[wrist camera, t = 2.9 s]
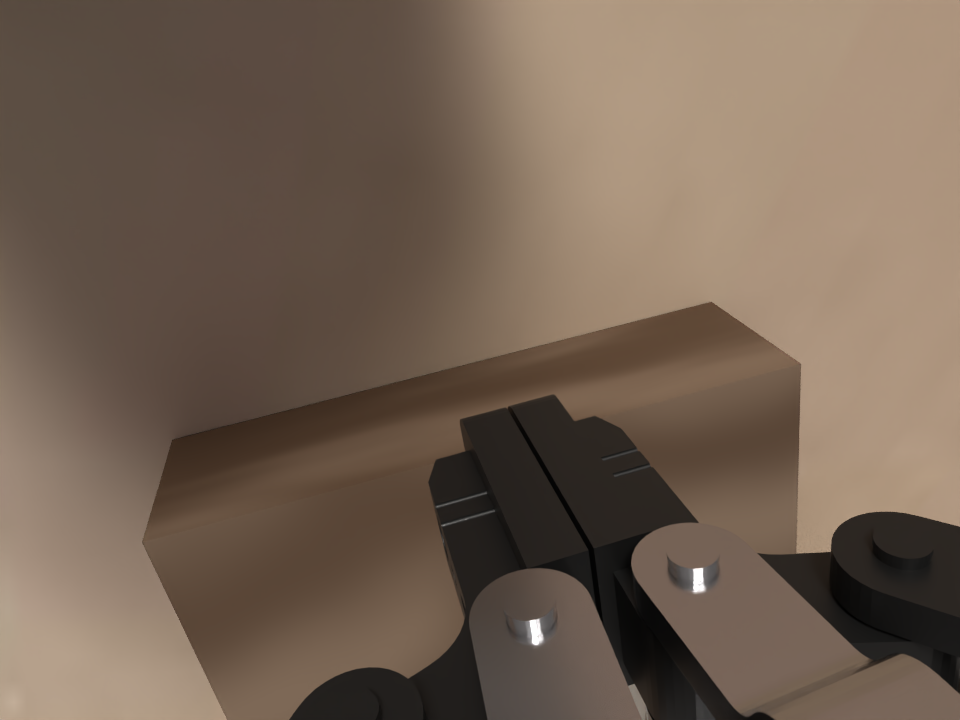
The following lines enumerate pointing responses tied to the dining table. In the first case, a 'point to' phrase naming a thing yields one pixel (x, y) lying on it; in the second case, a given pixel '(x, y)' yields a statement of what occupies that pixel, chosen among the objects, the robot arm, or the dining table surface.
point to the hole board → (409, 506)
